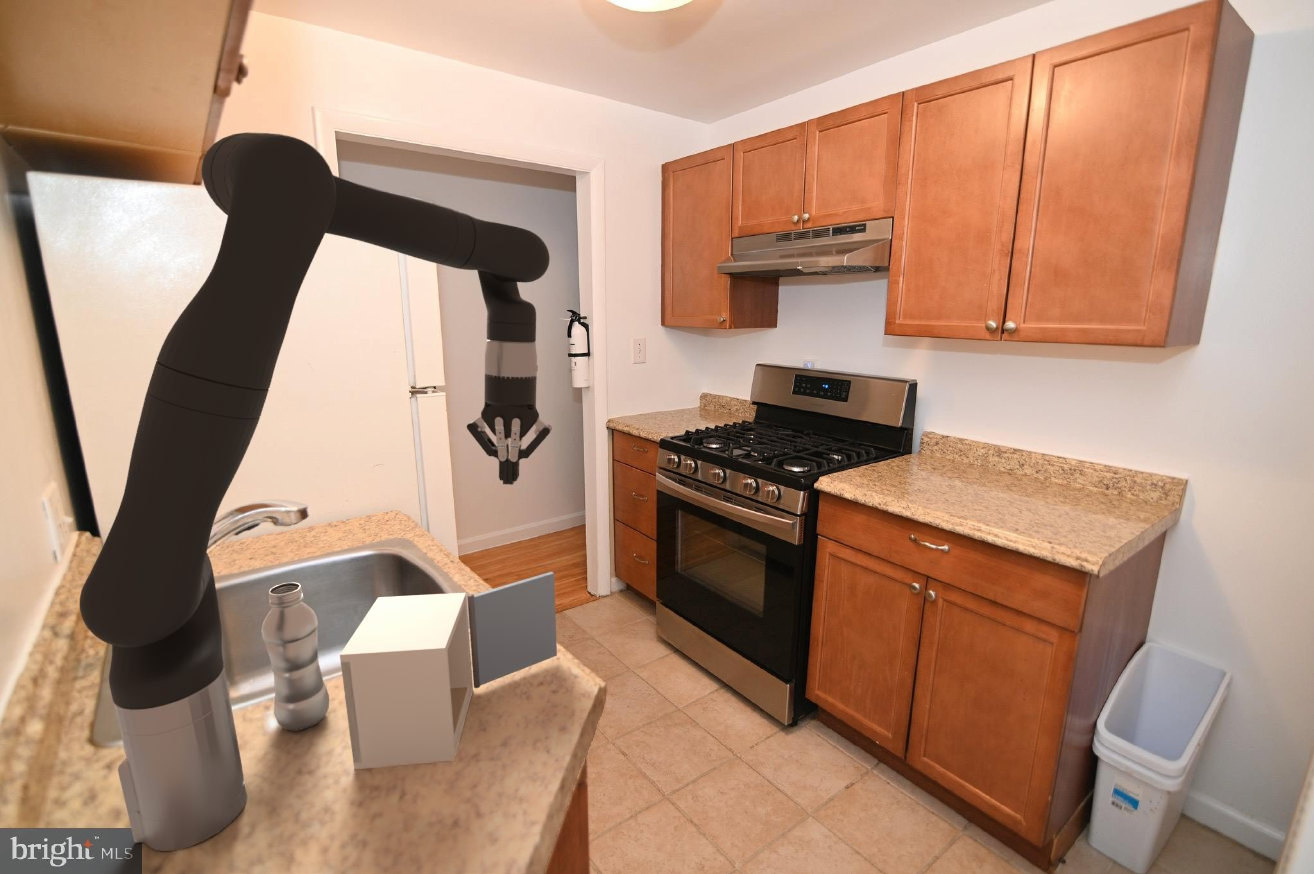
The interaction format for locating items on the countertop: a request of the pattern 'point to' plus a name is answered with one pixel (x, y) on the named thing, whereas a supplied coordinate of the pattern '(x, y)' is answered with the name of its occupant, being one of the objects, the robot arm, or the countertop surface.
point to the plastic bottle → (294, 659)
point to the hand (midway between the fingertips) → (509, 483)
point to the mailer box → (408, 680)
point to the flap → (512, 627)
